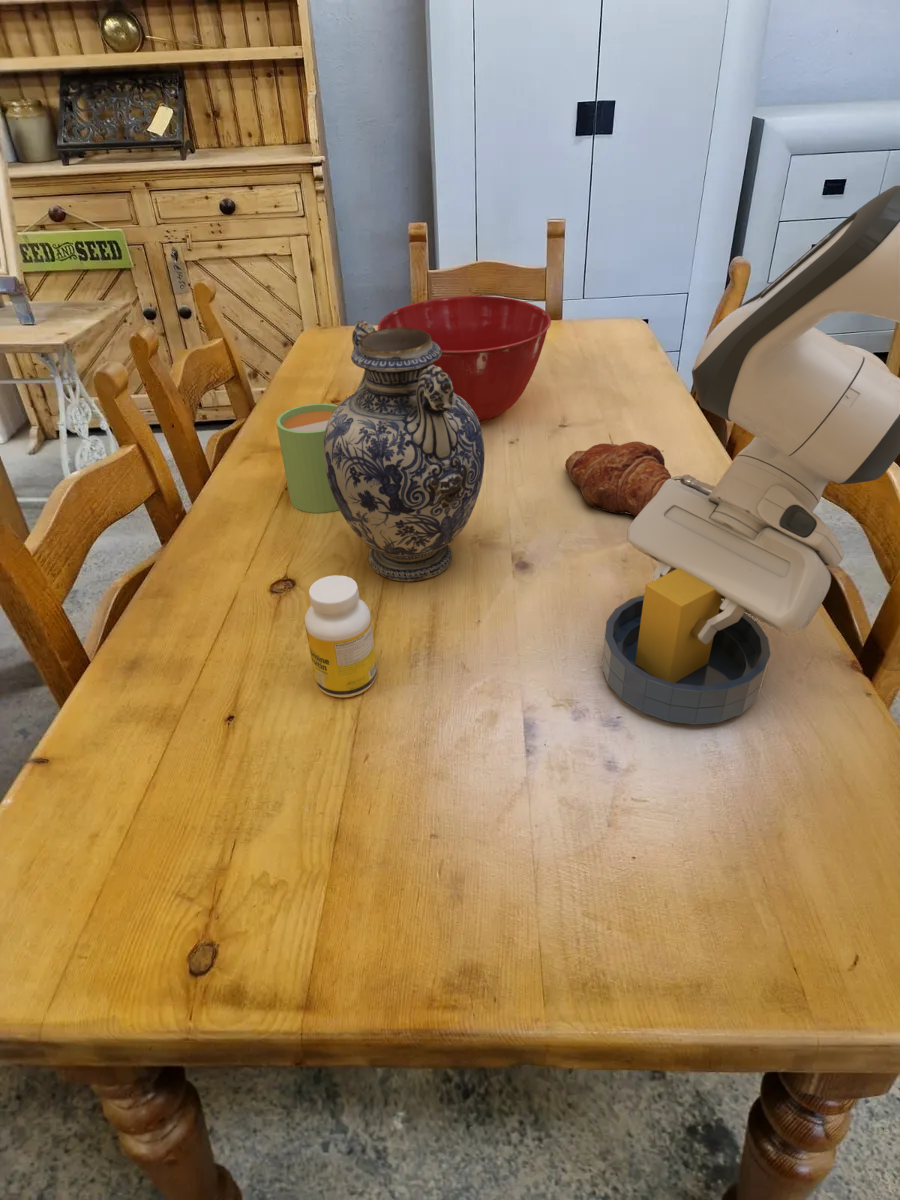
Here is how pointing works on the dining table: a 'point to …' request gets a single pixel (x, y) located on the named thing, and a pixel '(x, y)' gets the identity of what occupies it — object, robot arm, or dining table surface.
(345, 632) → the pill bottle
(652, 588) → the yellow rectangular block
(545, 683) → the dining table surface
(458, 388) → the mixing bowl
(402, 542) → the decorative vase
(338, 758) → the dining table surface
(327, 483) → the mug
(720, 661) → the bowl
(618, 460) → the pastry
